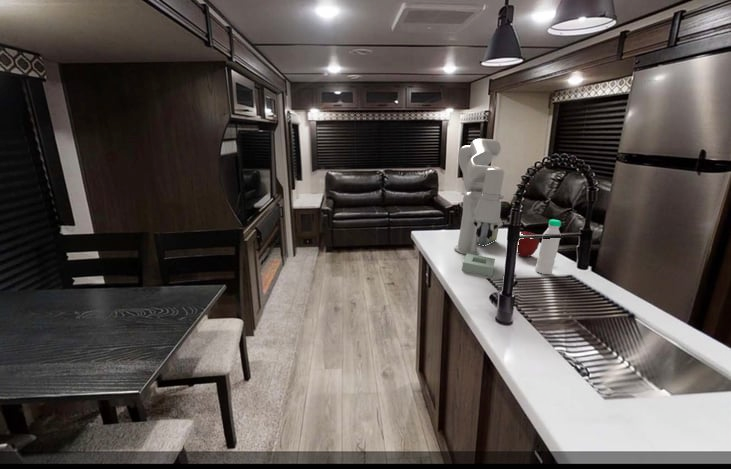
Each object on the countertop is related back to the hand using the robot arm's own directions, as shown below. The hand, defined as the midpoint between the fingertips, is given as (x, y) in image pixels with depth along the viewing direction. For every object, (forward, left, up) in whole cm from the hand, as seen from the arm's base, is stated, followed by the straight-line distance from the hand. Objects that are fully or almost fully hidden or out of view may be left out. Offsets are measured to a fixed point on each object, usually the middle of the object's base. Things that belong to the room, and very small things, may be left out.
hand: (483, 236), depth 152 cm
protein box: (-44, -2, -16) cm, 47 cm away
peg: (0, 0, -3) cm, 3 cm away
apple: (-32, +20, -16) cm, 41 cm away
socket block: (0, 0, -15) cm, 15 cm away
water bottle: (-12, +28, -16) cm, 34 cm away
